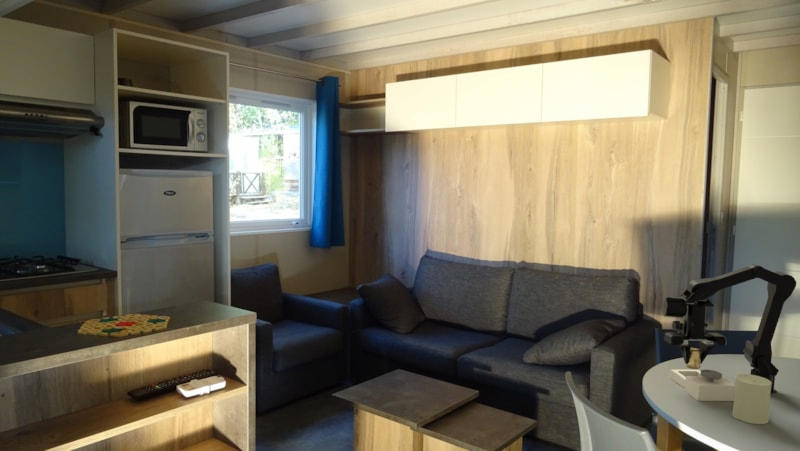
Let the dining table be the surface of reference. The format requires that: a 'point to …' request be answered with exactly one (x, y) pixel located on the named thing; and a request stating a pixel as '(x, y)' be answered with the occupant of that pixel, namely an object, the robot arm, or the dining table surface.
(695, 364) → the brass cylinder
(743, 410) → the can
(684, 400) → the dining table surface
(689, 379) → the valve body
